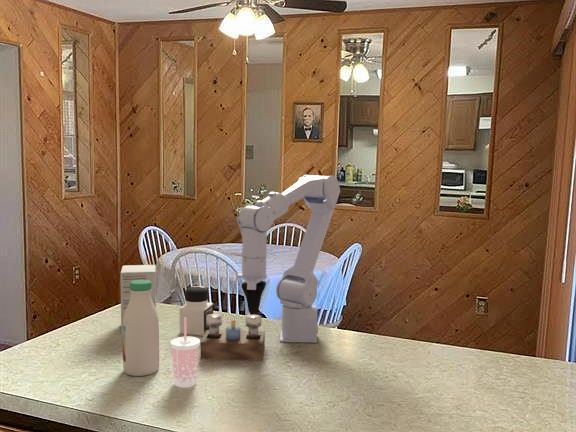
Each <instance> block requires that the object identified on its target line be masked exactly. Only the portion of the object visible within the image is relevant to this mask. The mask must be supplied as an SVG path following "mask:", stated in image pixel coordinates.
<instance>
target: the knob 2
mask: <svg viewBox="0 0 576 432" xmlns="http://www.w3.org/2000/svg"><path fill="white" fill-rule="evenodd" d="M261 326H262V315H259V314H248V315H246V316H245V327H247V329H248V330H247V331H248V339H253V340H258V331H259V328H261Z"/></svg>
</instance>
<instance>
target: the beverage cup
mask: <svg viewBox="0 0 576 432" xmlns="http://www.w3.org/2000/svg"><path fill="white" fill-rule="evenodd" d="M187 335H188V334H187V328H186V317H185V318H184V334H183V336H180V337H179V336H178V337H175V338H173V339H171V340H170V347H171V355H172V366H173V367H172V370H173V383H174V385H175V386H176V387H178V388H189V387H194V386H195V385H196V384H197V382H198V380H197V379H198V377H197V376H198V363H199V350H200V347H201V339H199V338H198V337H195V336H187Z"/></svg>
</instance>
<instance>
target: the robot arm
mask: <svg viewBox="0 0 576 432" xmlns="http://www.w3.org/2000/svg"><path fill="white" fill-rule="evenodd" d="M340 194H341V188H340V184H339V180H338V178H337V177H336V176H334V175H314V174H313V175H312V174H304V175H303V176H301V177H298V179H297V182H295V183H294V184H293V185H291V186H290V187H288V188H287V189H286V190H284V191H283V192H282V193H281V192H279V191H278V192H276V191H270V192H269V193H268V196H267V197H265V198H263V199H262V200H257V201H255V204H253V205H246V206H243V208H242V209H241V210H240V211H239V213H238V217H236V221H237V225H238V226H239V228H240V235H241V238H242V244H241V247H242V250H241V251H242V252H241V253H242V254H241V256H242V258H241V260H242V261H241V273H237V275H236V278H237V279H242V280H243V282H242V283H241V289H242V291H243V292H244V296H245V298H246V299H245V300H246V304H247V309H248V313H249V314H258V313H259V309H260V307H261V306H260V304H261V299H262V295H263V292H264V290H265V288H266V285H267V282H266V279H268V275H267V242H268V241H267V240H268V239H267V237H268V236H267V233H268V232H267V231H269V230H270V229H271V227H272V224H273V222H275V220H277V219H278V218H280V217H281V216H283V215H284V214H286V213H287V212H288V211H289V208H290V206H291V205H292V204H294V203H296V202H297V201H300V200H303V201H304V202H305V204H306V207H307V208H309V209H310V212H311V215H310V218H309V221H308V224H307V226H306V229H305V232H304V235H303V238H302V241H301V244H300V246H299V249H298V252H297V255H296V258H295V261H294V264H293V265H292V266H291V267H290V268H287V269H286V270H285V271H284V272H283V274H282V276H281V278H279V280H278V282H277V284H276V287H275V293H276V297H277V299H279V301H280V304H281V306H282V309H281V310H282V311H281V313H282V314H281V316H282V317H281V330H280V337H279V342H281V343H282V342H283V343H317V341H318V338H317V337H318V334H319V326H318V306H317V305H316V304H314V303H315V301H316V299H317V295H318V285H319V280H318V278H317V276H316V275H315V273H314V270H315V267H316V265H317V261H318V257H319V255H320V253H321V249H322V246H323V243H324V240H325V237H326V234H327V232H328V228H329V226H330V223H331V220H332V216H333V213H334V210H335V208H336V205H337V202H338V199H339V196H340Z"/></svg>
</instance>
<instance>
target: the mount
mask: <svg viewBox="0 0 576 432" xmlns="http://www.w3.org/2000/svg"><path fill="white" fill-rule="evenodd" d="M265 335H266V332H265V331H263V330H262V331H260V330H258V340H253V339H248V330H240V339H239V340H227V339H226V329H225V330H223V329H222V330H221V329H219V339H210V338H209V330H207V331H206V333H205V335H203V337H202V339H201V340H200V359H201V360H235V361H236V360H237V361H239V360H240V361H241V360H242V361H263V359H264V353H265V345H266V343H265V341H266V340H265V339H266V337H265Z"/></svg>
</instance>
